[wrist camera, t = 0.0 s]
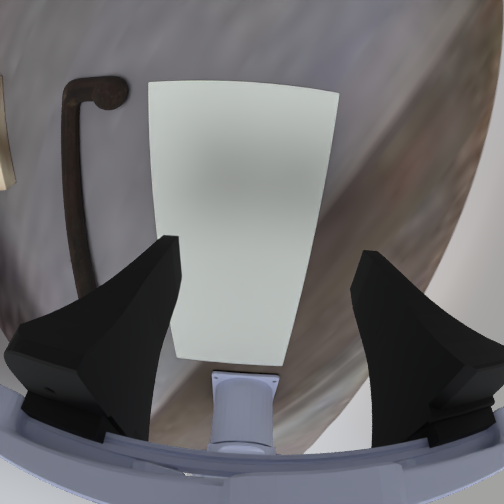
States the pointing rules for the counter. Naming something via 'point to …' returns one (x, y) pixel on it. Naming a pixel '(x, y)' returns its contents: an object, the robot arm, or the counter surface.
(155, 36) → the counter surface
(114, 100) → the dark brown hooked rod
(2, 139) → the cup on beige base
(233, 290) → the tool mat
